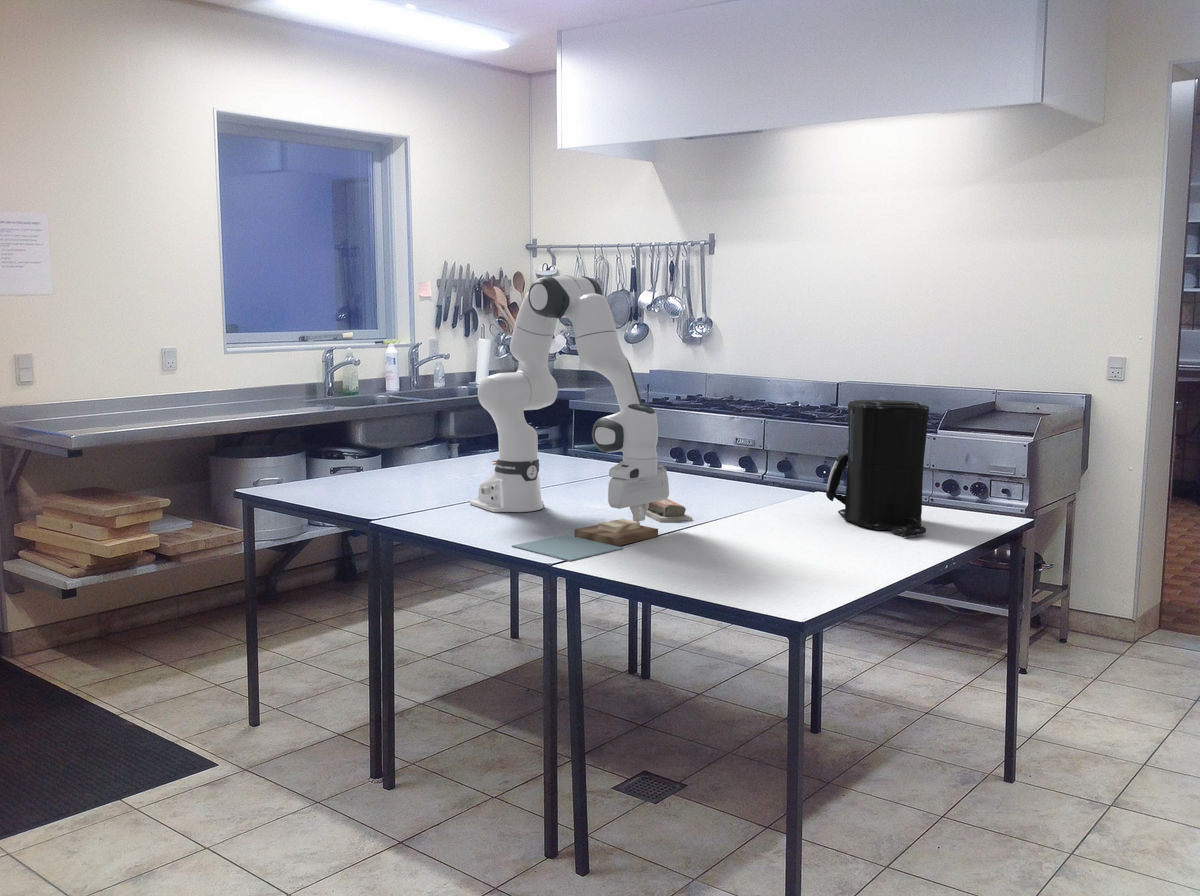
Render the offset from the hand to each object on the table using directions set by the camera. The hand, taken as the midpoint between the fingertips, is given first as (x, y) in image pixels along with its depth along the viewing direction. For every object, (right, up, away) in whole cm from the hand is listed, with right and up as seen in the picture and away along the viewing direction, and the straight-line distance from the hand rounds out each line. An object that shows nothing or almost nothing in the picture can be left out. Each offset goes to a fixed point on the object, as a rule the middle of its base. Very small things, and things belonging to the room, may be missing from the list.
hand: (639, 521), depth 268 cm
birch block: (-5, -2, -5) cm, 8 cm away
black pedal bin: (+64, -2, +14) cm, 66 cm away
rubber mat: (-18, -5, -18) cm, 26 cm away
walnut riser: (-6, -4, -6) cm, 9 cm away
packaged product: (+8, -1, +23) cm, 24 cm away
